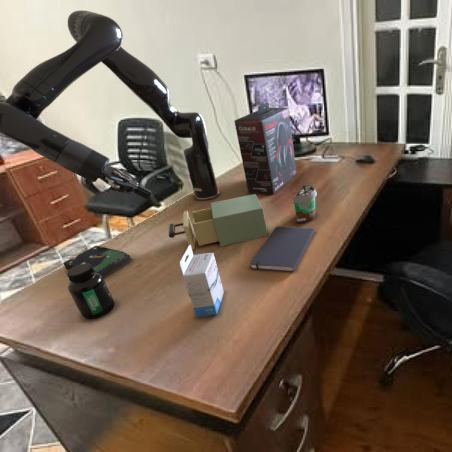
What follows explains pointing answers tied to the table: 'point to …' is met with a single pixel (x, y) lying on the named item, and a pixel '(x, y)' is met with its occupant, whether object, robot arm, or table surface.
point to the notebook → (282, 249)
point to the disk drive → (100, 260)
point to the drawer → (197, 227)
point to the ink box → (202, 282)
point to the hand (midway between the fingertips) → (149, 195)
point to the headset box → (266, 149)
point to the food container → (305, 204)
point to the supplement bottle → (89, 292)
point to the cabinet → (238, 219)
